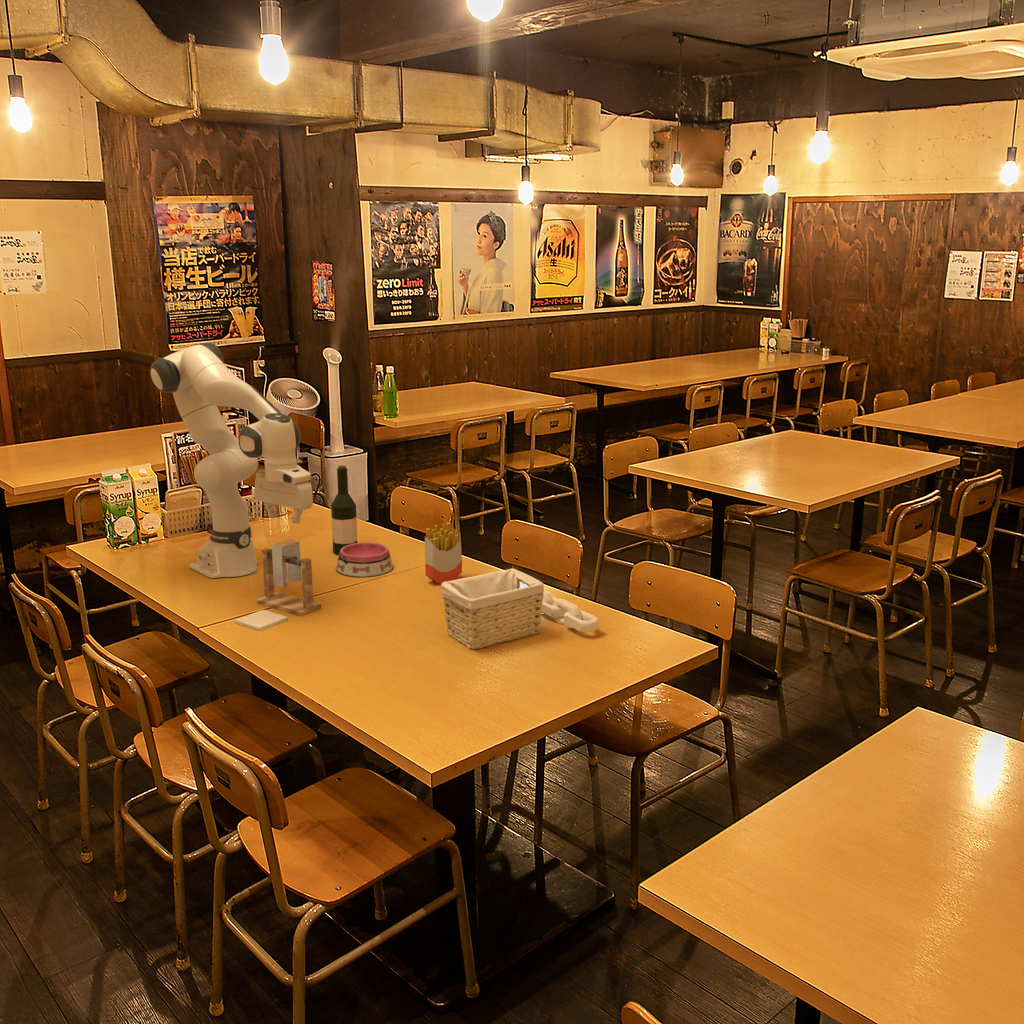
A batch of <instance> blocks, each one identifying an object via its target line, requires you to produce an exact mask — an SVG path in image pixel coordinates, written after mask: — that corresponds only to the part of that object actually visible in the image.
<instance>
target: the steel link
mask: <svg viewBox="0 0 1024 1024" xmlns="http://www.w3.org/2000/svg"><path fill="white" fill-rule="evenodd" d="M271 549H272V560H273V577H274V586H277V587H279V588H280V587H281V588H286V587H288V581H291V582H294V583H302V571H301V566H297V565H293V564H290V563H286V559H289V558H296V559H300V560H301V547H300V541H299V540H295V539H291V538H289V539H288V538H287V539H286V540H282V541H279V542H275V543H273V544H271Z"/></svg>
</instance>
